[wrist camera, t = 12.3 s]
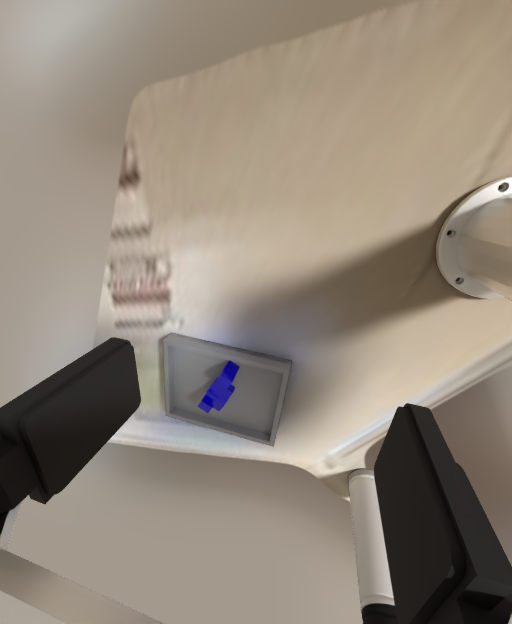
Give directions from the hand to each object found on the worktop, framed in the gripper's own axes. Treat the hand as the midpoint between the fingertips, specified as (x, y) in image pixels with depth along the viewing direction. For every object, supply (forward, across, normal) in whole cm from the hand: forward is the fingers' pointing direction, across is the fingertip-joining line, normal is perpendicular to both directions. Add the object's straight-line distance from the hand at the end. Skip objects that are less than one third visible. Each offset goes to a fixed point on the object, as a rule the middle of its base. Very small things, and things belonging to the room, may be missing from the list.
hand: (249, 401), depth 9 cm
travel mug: (+27, -16, +38) cm, 49 cm away
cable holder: (+26, +10, +22) cm, 35 cm away
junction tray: (+26, +10, +24) cm, 37 cm away
